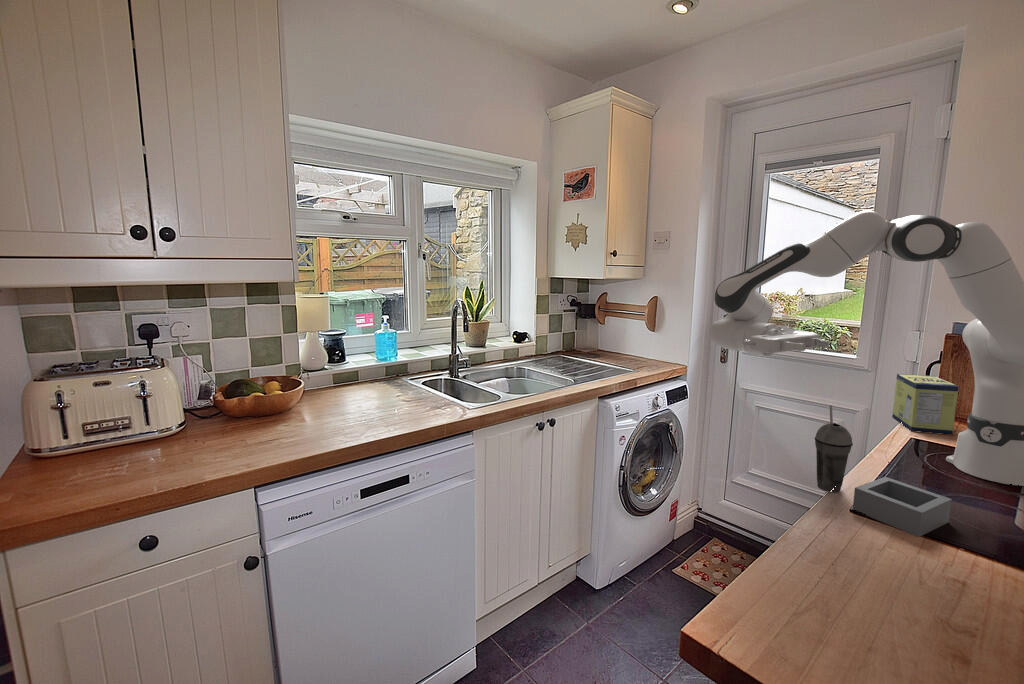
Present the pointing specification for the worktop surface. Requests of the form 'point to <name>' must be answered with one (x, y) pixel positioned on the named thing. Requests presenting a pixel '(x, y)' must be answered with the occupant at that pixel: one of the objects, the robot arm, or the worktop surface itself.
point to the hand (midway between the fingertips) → (815, 346)
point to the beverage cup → (832, 455)
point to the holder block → (902, 505)
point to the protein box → (925, 403)
